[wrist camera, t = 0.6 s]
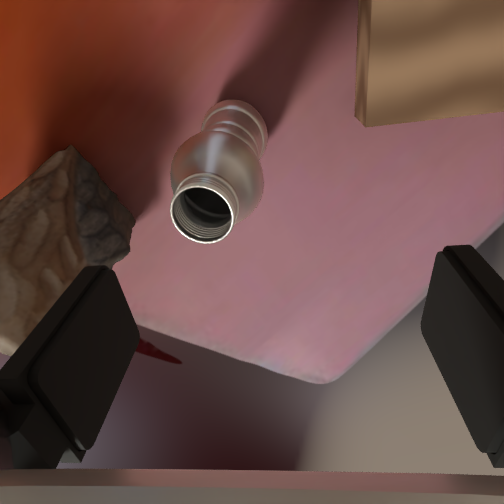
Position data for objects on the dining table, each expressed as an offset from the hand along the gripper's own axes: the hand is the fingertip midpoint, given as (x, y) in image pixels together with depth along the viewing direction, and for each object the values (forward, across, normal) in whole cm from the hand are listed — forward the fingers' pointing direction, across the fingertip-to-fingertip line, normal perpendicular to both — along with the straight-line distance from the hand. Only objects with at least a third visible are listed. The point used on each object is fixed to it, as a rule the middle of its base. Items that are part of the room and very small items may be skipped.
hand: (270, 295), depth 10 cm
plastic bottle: (+29, +4, +2) cm, 29 cm away
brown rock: (+29, +24, +8) cm, 38 cm away
